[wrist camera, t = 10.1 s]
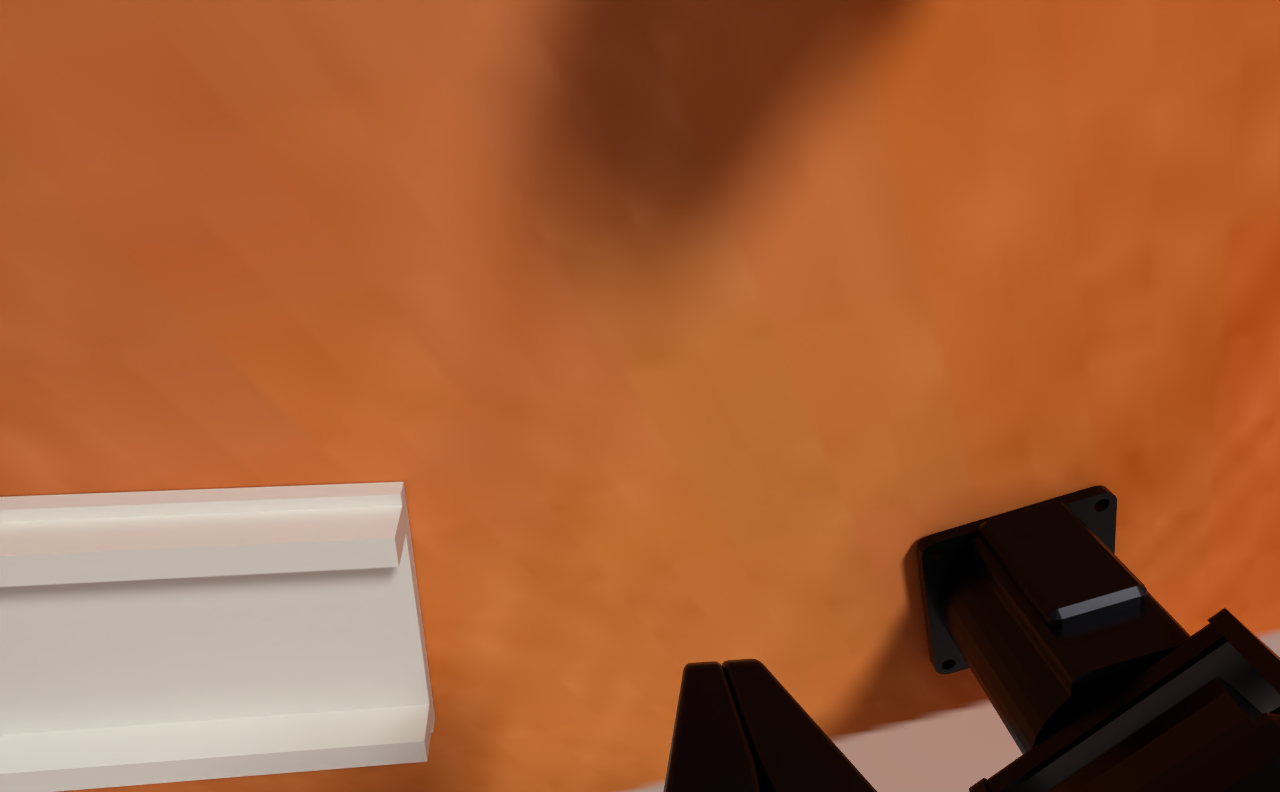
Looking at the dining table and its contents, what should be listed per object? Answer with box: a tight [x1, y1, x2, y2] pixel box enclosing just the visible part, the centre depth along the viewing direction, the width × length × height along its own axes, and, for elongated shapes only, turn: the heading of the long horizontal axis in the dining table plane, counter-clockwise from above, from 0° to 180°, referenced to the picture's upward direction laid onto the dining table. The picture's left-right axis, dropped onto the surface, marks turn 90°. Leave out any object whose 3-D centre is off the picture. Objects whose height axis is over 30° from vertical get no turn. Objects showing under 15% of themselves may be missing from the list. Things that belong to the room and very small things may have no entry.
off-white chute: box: [0, 482, 435, 792], centre depth 23 cm, size 15×10×2 cm, turn 88°
